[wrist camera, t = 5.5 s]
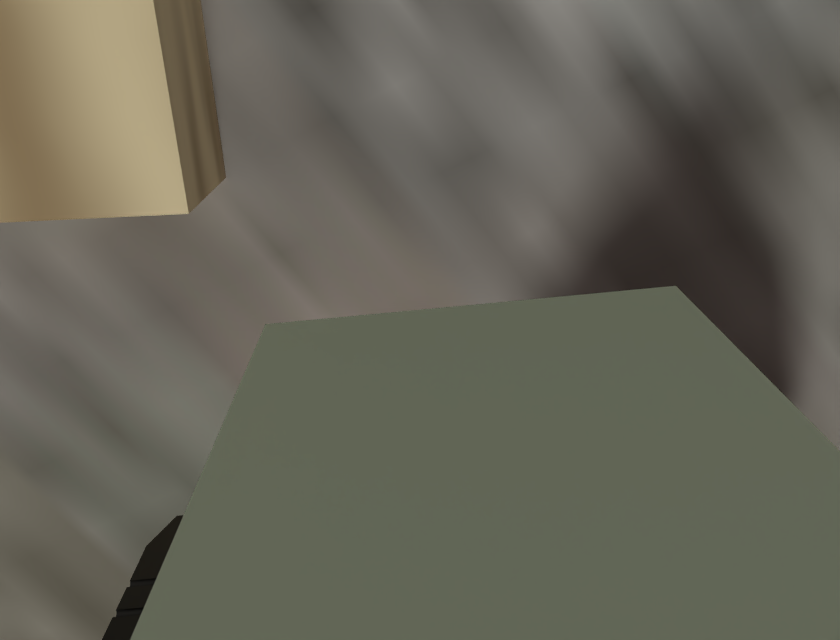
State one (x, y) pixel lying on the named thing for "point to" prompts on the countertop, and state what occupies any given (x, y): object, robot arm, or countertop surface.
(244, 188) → the countertop surface
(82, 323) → the countertop surface
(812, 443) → the sage block
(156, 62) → the oak block
